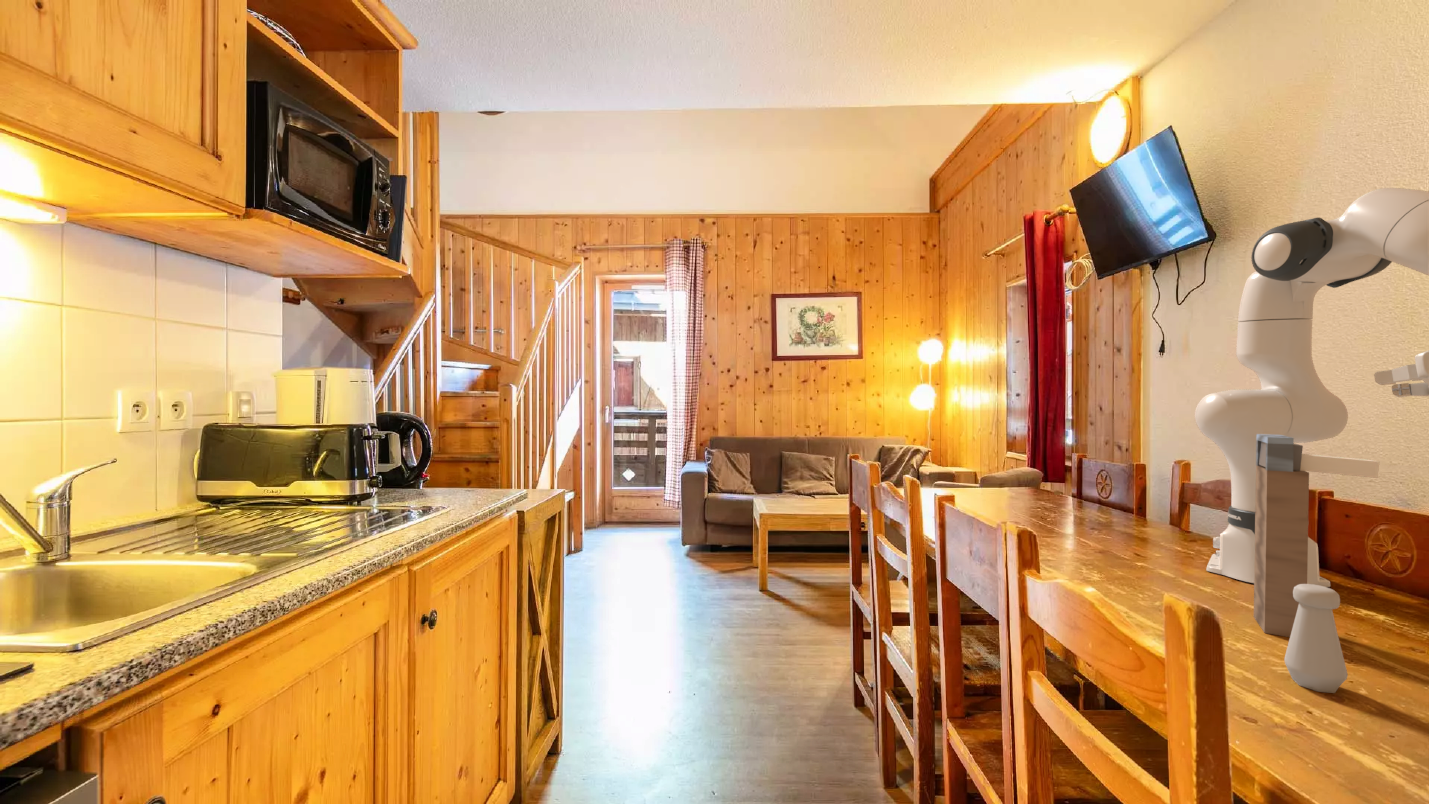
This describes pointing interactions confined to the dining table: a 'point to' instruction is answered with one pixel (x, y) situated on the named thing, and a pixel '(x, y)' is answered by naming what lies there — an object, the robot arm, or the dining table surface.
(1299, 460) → the cream bar
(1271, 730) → the dining table surface
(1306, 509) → the post
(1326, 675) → the salt shaker
